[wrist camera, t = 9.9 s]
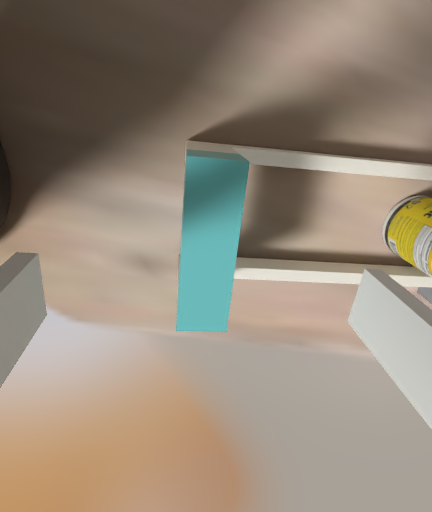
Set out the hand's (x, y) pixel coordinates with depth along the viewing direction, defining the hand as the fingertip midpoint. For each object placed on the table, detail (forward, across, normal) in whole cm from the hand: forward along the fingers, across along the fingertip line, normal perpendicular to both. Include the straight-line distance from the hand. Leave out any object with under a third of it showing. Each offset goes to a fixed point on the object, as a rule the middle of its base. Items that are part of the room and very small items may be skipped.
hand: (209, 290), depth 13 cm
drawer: (+13, +11, 0) cm, 17 cm away
